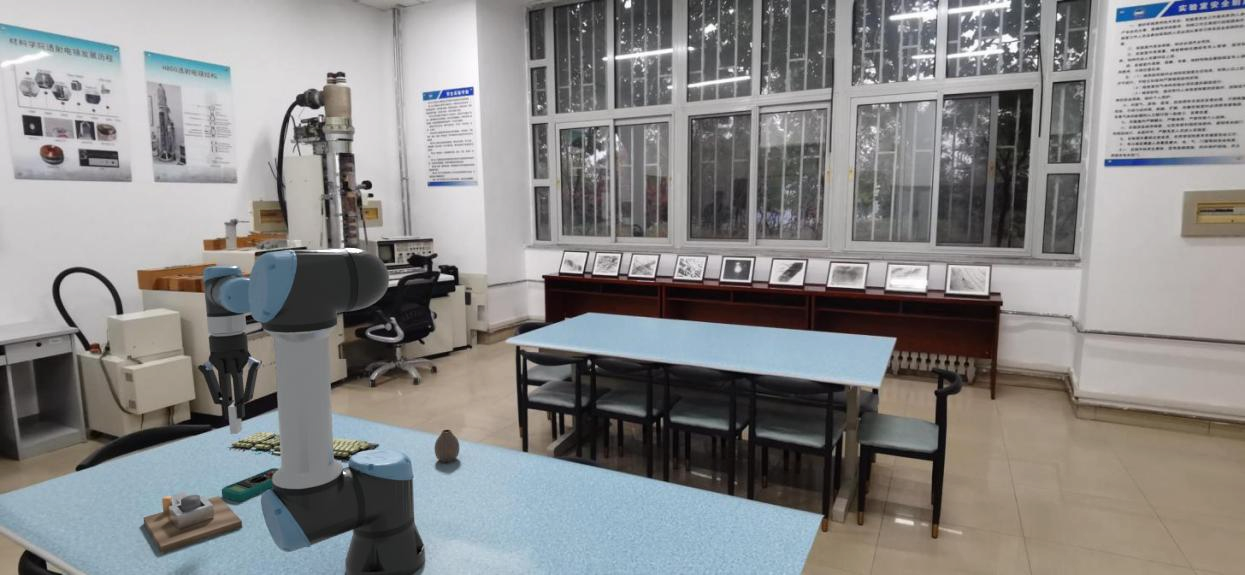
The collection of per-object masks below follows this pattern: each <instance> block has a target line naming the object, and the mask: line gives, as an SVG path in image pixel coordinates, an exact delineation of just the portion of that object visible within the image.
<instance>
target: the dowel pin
mask: <svg viewBox="0 0 1245 575" xmlns="http://www.w3.org/2000/svg"><path fill="white" fill-rule="evenodd" d="M161 501H162V502H161V503H162V512H163V513H164V514H169V506H172V505H173V496H171V495H168V496H163V497H162V498H161Z"/></svg>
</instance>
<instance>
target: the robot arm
mask: <svg viewBox="0 0 1245 575" xmlns="http://www.w3.org/2000/svg"><path fill="white" fill-rule="evenodd" d="M242 272H243V271H242V267H240V266H238V265H217V266H209V267H205V268H204V269H203V273H202V276H203V280H202V285H203V290H204V300H205V309H206V310H205V311H206V322H207V323H206V324H207V333H208V334H210V335H209V336H208V347H209V352H210V354H209V355H208V360H207V361H205V362H203V363H202V364H200V365H198V367H197V368H198V370H199V371H200V372H201V374H202V375H203V377H204V380H205V382H206V385H207V387H208V391H209V393H210V395H211V398H212V401H213V404H214V405H219V406H222V407H223V411H224V412H223V413H224V419H225V420H228V422H229V432H230V435H238V434H239V433H241V432H242V431H243V426H242V425H243V423H242V422H243V421H242V419H243V418H244V417H245V416H246V410H245V409H246V408H245V403H249V402H250V401H251V400H253V398H254V394H255V387H256V381H257V377H258V371H259V369H260V368H261V365H262V363H263V361H262V360H261V359H255V358H253V357H252V355H251V353H250V352H249V344H248V343H249V342H248V341H249V340H248V333H247V332H246V330H247V322H246V321H247V320H246V319H247V318H246V314H248V313H250V315H251V317H252V318H253V319H254V321H256V322H260V323H262V328H263V332H265V333H266V334H268V335H270V336H271V337H272V338H273V341H274V358H275V359H274V362H275V378H276V379H275V380H276V398H277V413H278V417H277V418H278V430H279V431H278V432H279V433H278V435H280V445H279V446H280V453H281V455H280V467H279V468H277V469H278V470H277V471H276V472H275V473H274V475H273V477H272V484H273V488H271V489H268V490H266V491H264V492H261V496H260V505H261V511H262V515H263V519H264V522H265V525H266V528H267V529H268V532H269V535H270V536H271V538H272V540H273V542H274V544H275V545H276V546H277V547H278V549H279V550H281V551H282V552H285V553H291V552H295V551H297V550H301V549H304V548H310V547H312V546H313V545H315V544H318V543H321V542H323V541H326V540H329V539H332V538H335V537H337V536H339V535H343V534H346V533H348V532H350V531H352V535H351V540H350V544H349V546H348V550H347V553H346V557H345V564H344V566H345V567H344V568H345V575H413V574H414V573H415V572H416V571H418V570H419V569H420V568H422V566H423V564H424V562H425V559H426V550H425V544H424V542H423V539H422V537H421V534H420V531H419V529H418V528H417V525H416V522H415V502H414V500H415V499H414V496H415V495H414V473H413V467H412V466H413V465H412V460H411V458H410V456H408V455H407V454H406V453H403V452H401V451H398V450H393V449H383V448H382V449H381V448H380V449H377V448H375V449H373V450H367V451H362V452H358V453H356V454H354V455H352V456H351V457H350V459H349V461H348V462H347V464H348V466H346V467H344V466H343V464H342V462H340V461H338V459H334V453H333V438H334V436H333V433H334V430H333V409H332V408H333V407H332V386H331V365H330V364H331V363H330V336H329V335H330V334H331V332H333V330H335V329H336V328H337V326H338V314H339V313H344V312H345V313H346V312H354V311H357V310H358V311H359V310H361V309H365V308H368V307H371V306H372V305H373V304H376V303H377V302H378V301H379V300H381V299H382V297H384V296H385V294H386V292H387V291H388V288H389V285H390V284H389V283H390V274H389V271H388V267H387V266H386V264H385V263H384V261H382V260H381V258H380V257H378V256H376V255H375V254H374V253H372V252H370V251H367V250H364V249H361V248H360V249H359V248H357V247H356V248H355V247H353V248H351V247H340V248H321V249H320V248H319V249H318V248H317V249H316V248H315V249H313V248H312V249H311V248H310V249H285V250H278V251H277V250H276V251H270V252H266V253H263V254H262V255H261V254H260V256H259V257H258V258H257V259H256V261H255V262H254V264H253V266H252V268H251V271H250V274H249V276H243V273H242ZM247 364H248V366H246V365H247ZM245 367H248V368H249V369H248V371H247V377H246V381H245V386H244V375H243V374H244V368H245ZM214 369H216V370H217V371H218V378H219V379H220V383H219V381H218V378H217V376H216V373H215V371H214ZM232 386H233V388H232ZM244 387H245V388H244ZM233 396H234V397H233ZM233 398H234V399H233Z"/></svg>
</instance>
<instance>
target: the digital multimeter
mask: <svg viewBox="0 0 1245 575" xmlns="http://www.w3.org/2000/svg"><path fill="white" fill-rule="evenodd" d="M278 469H279V468H275V467H273V468H269V469H267V470H265V471H262V472H260V473H257V474H255V475H252V476H250V477H247V478H245V479H242V480H239V481H237V482H236V481H235V482H234V483H231V484H229V485H226V486H224V487H223V488H221V497H223V498H225V499H228V500H230V501H233V502H240V503H241V502H243V501H245V500H248V499H250V498H252V497H254V496H257V495H259V494H262V493H264V492H265V491H267V490H269V489H272V488H273V484H272V477H273V475H274V473H275V472H276V471H277V470H278Z"/></svg>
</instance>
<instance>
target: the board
mask: <svg viewBox="0 0 1245 575" xmlns="http://www.w3.org/2000/svg"><path fill="white" fill-rule="evenodd" d="M200 497H201V495H199V494H189V495H188V496H186V497H184V498H182V499H181V509H182V512H186V511H189V510H192V509H195V508H199V507H201V503H200ZM206 499H207V500H208V501H209V502H210V503H211V504H213V509H214V518H211V519H208V520H205V521H202V522H199V523H196V524H193V525H190V526H187V527H184V528H181V529H179V528H178V527H177V526H176V525H175V524H174V523H173V522H172V521H171V520H170V513H169V514H164V513H163V511H161V512H158V513H154V514H151V515H148V516H145V517H143V524H144V526H145V528H146V529H147V532H148V533H149V535H150V536H151V538H152V540H153V541H154V543H155V545H156V546H157V548H158V549H159V551H160V553H161V554H164V553H167V552H171V551H173V550H177V549H180V548H182V547H185V546H188V545H191V544H194V543H197V542H200V541H203V540H206V539H210V538H213V537H215V536H219V535H222V534H225V533H228V532H231V531H233V530H234V531H235V530H238V529H240V528H243V521H242V520H241V518H240V517H239V516H238V515H237V514H236V513H235V512H234V510H233V509H232V508H230V506H229V505H228V504H227V503H226V502H225V501H224V500H223V499H222V497H221V496H219V495H216V496H214V497H210V498H206Z"/></svg>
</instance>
